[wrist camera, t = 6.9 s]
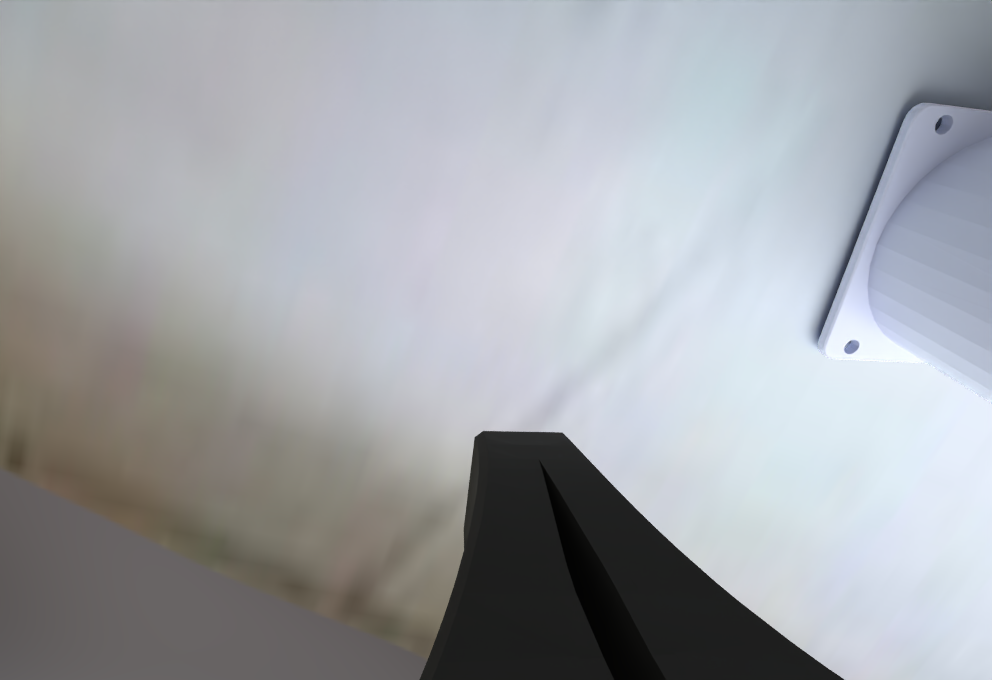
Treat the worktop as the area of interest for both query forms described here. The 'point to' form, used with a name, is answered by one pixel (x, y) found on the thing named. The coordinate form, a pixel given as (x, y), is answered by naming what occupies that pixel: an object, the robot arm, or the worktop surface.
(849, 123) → the worktop surface
